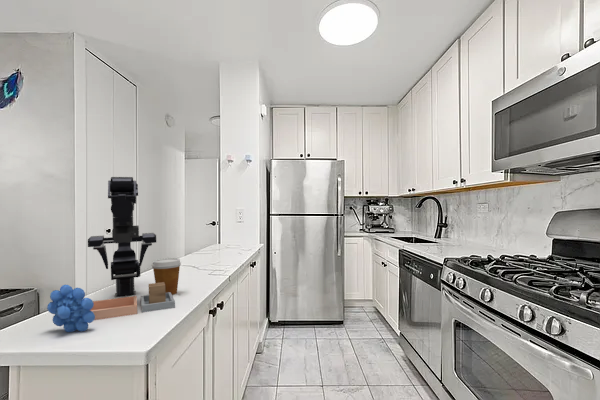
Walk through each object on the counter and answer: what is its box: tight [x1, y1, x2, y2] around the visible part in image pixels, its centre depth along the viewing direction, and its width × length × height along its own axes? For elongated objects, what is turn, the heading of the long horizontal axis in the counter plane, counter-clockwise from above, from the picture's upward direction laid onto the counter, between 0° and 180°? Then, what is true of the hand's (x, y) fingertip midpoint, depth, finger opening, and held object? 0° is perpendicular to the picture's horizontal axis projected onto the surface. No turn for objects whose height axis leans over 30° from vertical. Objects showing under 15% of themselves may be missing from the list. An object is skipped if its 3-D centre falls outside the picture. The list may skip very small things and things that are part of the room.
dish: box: [90, 295, 138, 321], centre depth 102 cm, size 12×15×3 cm
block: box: [148, 282, 166, 304], centre depth 108 cm, size 4×4×6 cm
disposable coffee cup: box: [151, 257, 182, 296], centre depth 122 cm, size 10×10×12 cm
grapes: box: [46, 284, 95, 333], centre depth 86 cm, size 12×7×12 cm, turn 88°
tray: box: [140, 292, 176, 313], centre depth 108 cm, size 12×9×2 cm
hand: (124, 267), depth 110 cm, fingers open, 9 cm apart
